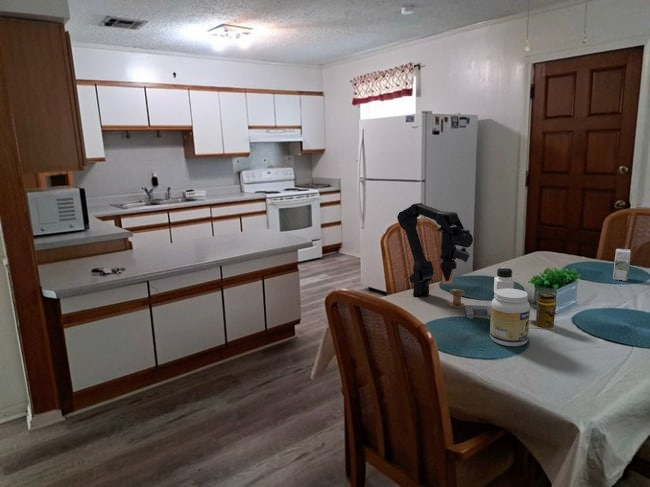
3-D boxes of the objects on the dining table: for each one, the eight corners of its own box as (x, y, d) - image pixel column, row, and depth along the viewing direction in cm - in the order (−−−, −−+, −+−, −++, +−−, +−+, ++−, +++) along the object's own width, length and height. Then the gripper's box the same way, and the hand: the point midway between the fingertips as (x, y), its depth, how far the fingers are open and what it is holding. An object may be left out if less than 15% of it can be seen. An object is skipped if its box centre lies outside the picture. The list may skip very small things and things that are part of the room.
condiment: (556, 330, 161) (558, 298, 158) (530, 328, 163) (532, 296, 161) (552, 322, 168) (555, 291, 165) (528, 320, 170) (530, 290, 168)
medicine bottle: (513, 297, 195) (515, 270, 193) (496, 297, 197) (497, 270, 194) (510, 292, 202) (511, 266, 200) (493, 291, 204) (494, 266, 201)
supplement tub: (524, 350, 146) (527, 300, 142) (486, 343, 152) (488, 295, 149) (530, 336, 156) (533, 289, 152) (494, 330, 162) (496, 285, 159)
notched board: (467, 318, 174) (467, 313, 173) (465, 309, 183) (465, 304, 183) (494, 319, 172) (494, 314, 171) (491, 310, 181) (491, 305, 181)
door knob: (449, 308, 186) (450, 293, 184) (449, 303, 191) (449, 288, 190) (464, 308, 184) (465, 293, 183) (463, 303, 190) (464, 289, 189)
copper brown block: (442, 283, 187) (442, 269, 186) (442, 280, 191) (442, 267, 189) (452, 284, 186) (452, 270, 185) (451, 281, 190) (452, 267, 188)
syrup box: (627, 278, 216) (630, 249, 213) (627, 281, 211) (630, 251, 208) (613, 277, 219) (616, 247, 216) (613, 280, 214) (616, 250, 211)
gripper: (470, 248, 174) (468, 287, 177) (467, 238, 192) (465, 273, 195) (440, 248, 176) (439, 286, 180) (440, 238, 194) (439, 273, 198)
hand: (447, 279), depth 188 cm, fingers closed on copper brown block, 4 cm apart
